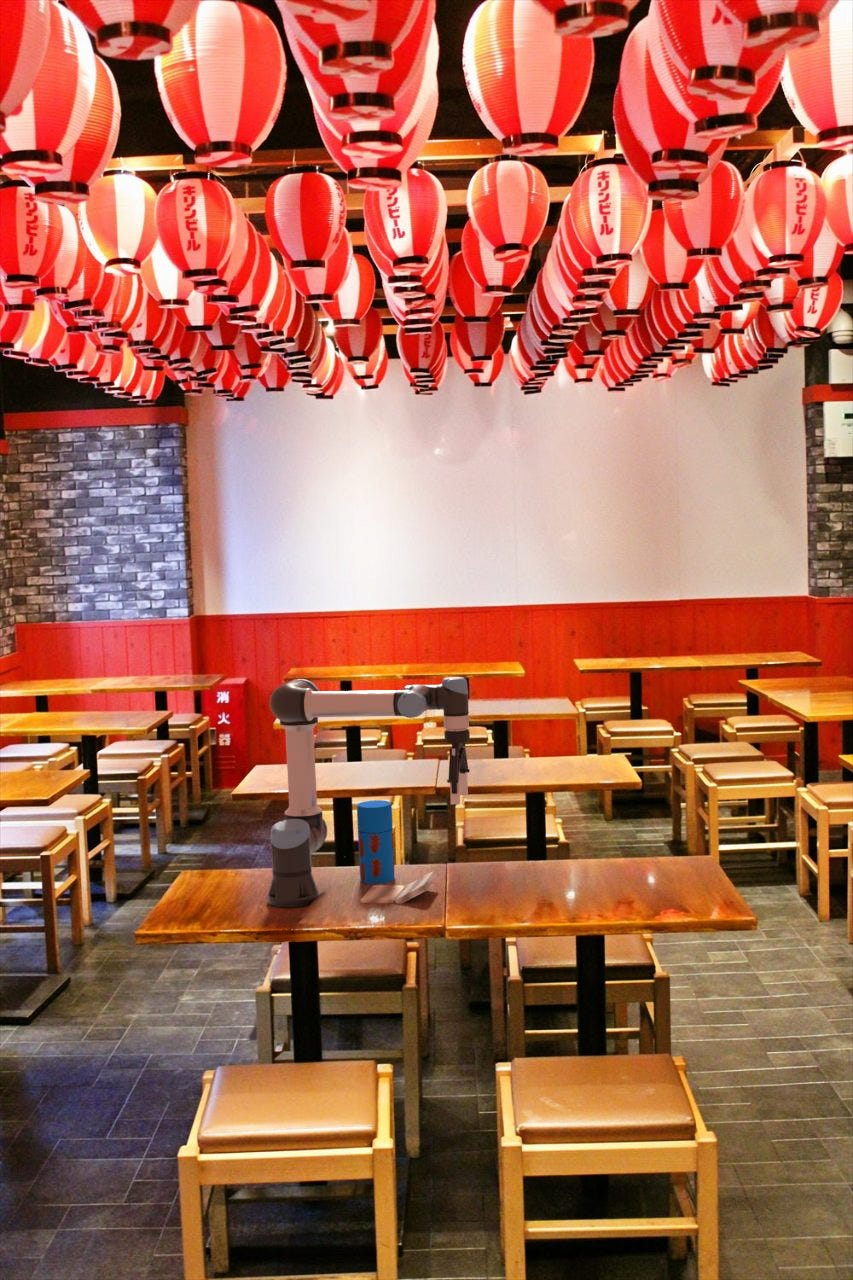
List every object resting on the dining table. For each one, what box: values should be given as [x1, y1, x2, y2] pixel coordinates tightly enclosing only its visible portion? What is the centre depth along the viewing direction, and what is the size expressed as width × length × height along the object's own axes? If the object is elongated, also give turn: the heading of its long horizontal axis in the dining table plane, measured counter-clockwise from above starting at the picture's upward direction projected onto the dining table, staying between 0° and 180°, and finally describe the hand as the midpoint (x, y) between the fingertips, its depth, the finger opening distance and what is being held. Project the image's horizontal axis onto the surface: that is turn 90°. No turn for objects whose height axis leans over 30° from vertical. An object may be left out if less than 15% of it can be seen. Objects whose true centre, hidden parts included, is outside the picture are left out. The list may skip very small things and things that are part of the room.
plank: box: [395, 870, 437, 904], centre depth 351 cm, size 10×15×2 cm, turn 168°
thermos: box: [356, 799, 395, 885], centre depth 371 cm, size 11×11×25 cm
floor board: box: [360, 884, 406, 904], centre depth 353 cm, size 21×16×2 cm
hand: (459, 799), depth 357 cm, fingers open, 13 cm apart
